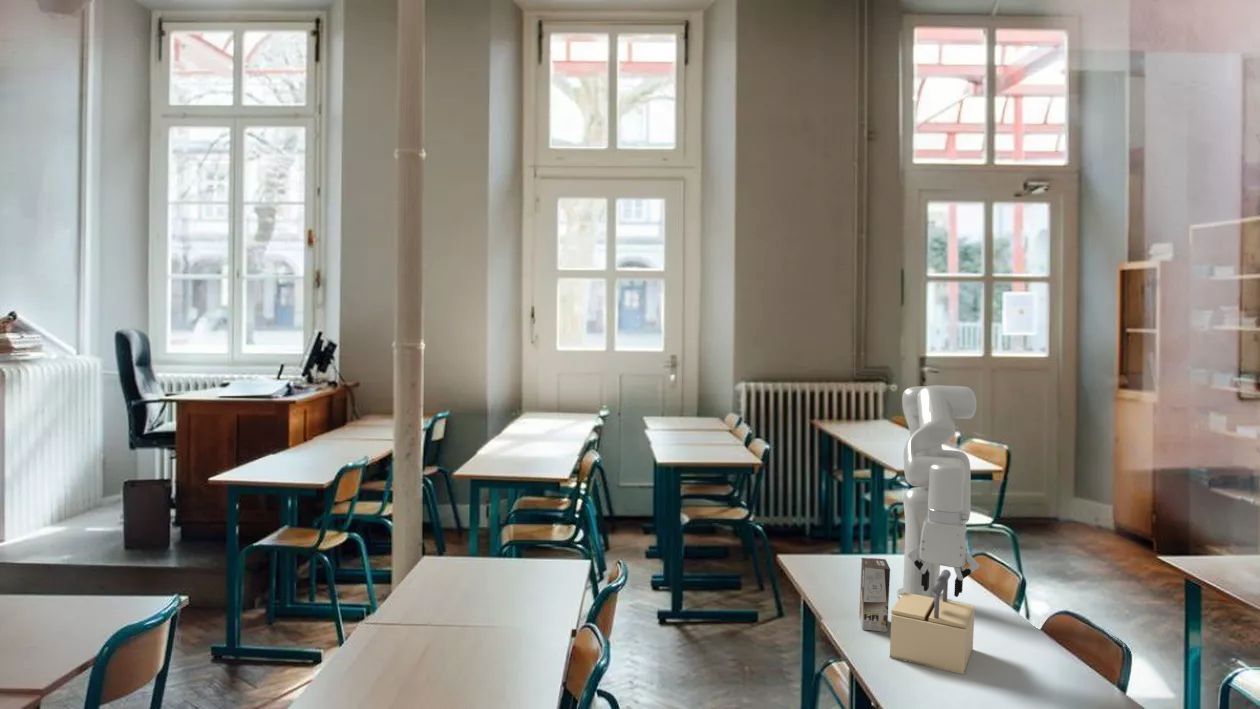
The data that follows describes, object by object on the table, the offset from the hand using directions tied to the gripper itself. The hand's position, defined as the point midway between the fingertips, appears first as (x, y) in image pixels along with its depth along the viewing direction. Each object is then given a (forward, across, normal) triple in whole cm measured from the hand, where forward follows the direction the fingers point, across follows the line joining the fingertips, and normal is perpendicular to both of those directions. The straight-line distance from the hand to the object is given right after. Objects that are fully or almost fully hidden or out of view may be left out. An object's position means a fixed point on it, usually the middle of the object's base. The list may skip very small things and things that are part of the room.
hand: (941, 591), depth 185 cm
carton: (+15, +2, 0) cm, 15 cm away
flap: (+5, -2, 0) cm, 6 cm away
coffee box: (+15, +18, -10) cm, 25 cm away
